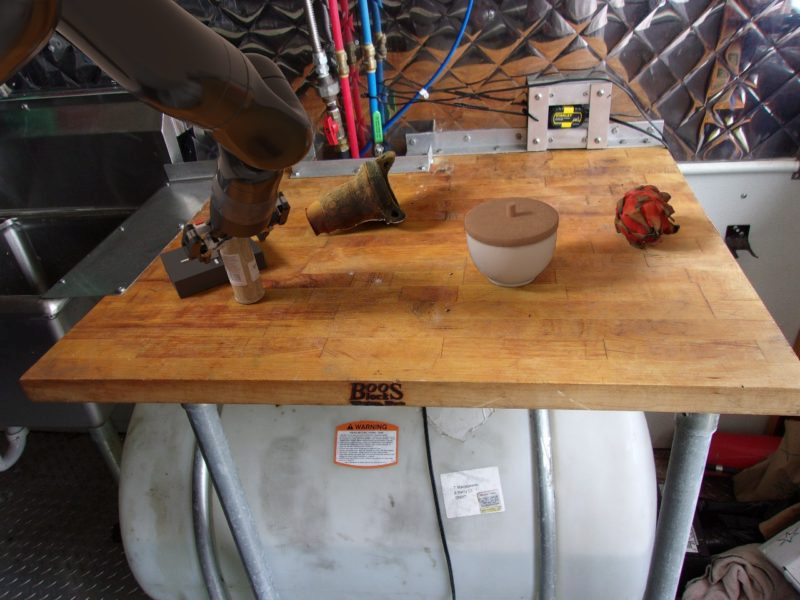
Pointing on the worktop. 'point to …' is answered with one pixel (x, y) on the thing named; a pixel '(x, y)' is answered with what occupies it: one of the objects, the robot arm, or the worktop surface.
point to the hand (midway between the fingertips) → (232, 246)
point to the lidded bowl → (511, 239)
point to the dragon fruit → (644, 216)
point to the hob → (200, 270)
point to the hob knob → (214, 253)
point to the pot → (358, 200)
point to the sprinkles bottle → (242, 271)
